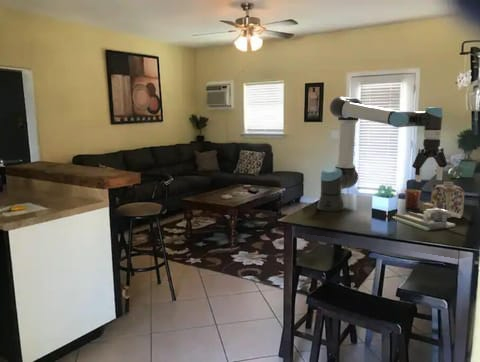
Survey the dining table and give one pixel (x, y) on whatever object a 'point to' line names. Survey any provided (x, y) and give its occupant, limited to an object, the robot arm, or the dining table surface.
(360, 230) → the dining table surface
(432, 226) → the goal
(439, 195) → the decorative jar
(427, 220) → the white arched piece
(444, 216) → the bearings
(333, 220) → the dining table surface
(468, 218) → the dining table surface
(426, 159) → the robot arm
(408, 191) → the mug
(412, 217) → the pitch
